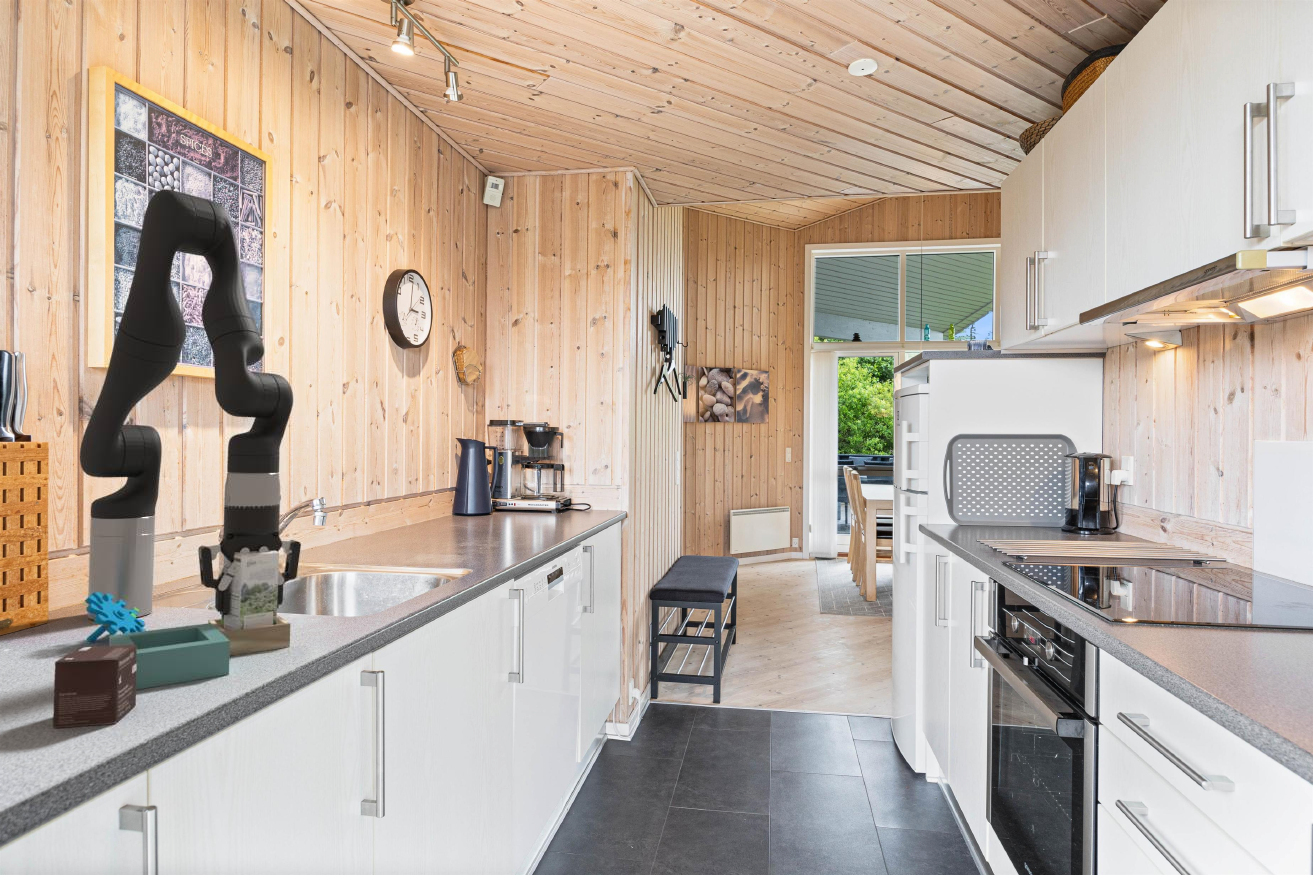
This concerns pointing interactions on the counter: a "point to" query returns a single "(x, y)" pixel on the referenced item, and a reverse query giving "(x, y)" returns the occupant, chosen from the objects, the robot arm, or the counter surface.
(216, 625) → the stand collar
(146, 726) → the counter surface
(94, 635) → the gear
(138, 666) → the teal square frame
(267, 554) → the syrup box
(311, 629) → the counter surface
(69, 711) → the box
